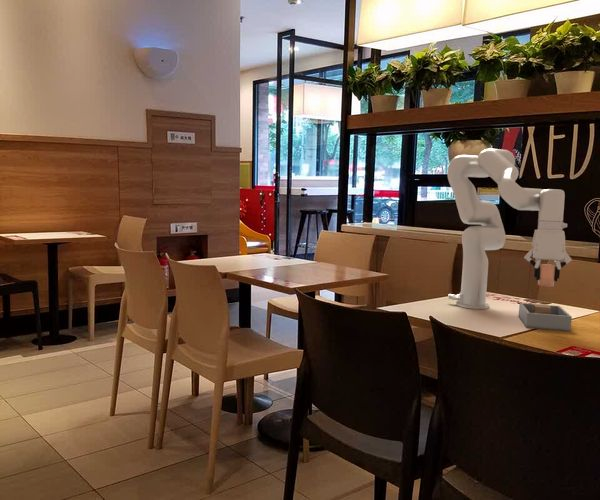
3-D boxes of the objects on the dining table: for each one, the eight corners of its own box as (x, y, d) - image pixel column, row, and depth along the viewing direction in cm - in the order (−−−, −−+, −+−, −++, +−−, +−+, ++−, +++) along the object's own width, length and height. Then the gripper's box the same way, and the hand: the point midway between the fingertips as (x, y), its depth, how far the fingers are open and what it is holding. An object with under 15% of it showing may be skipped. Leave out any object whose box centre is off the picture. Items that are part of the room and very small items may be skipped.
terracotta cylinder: (539, 286, 188) (540, 265, 187) (536, 283, 193) (538, 263, 192) (555, 287, 187) (556, 266, 186) (552, 284, 191) (553, 264, 191)
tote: (526, 327, 188) (527, 313, 187) (518, 316, 205) (519, 302, 204) (570, 331, 185) (571, 316, 184) (558, 319, 202) (559, 306, 201)
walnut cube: (532, 317, 201) (533, 303, 200) (547, 318, 200) (548, 304, 199) (534, 320, 196) (535, 306, 196) (549, 321, 195) (550, 307, 194)
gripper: (575, 226, 189) (571, 280, 191) (521, 224, 193) (517, 277, 195) (580, 228, 182) (576, 283, 184) (524, 225, 186) (520, 280, 188)
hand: (546, 279), depth 190 cm, fingers closed on terracotta cylinder, 5 cm apart
